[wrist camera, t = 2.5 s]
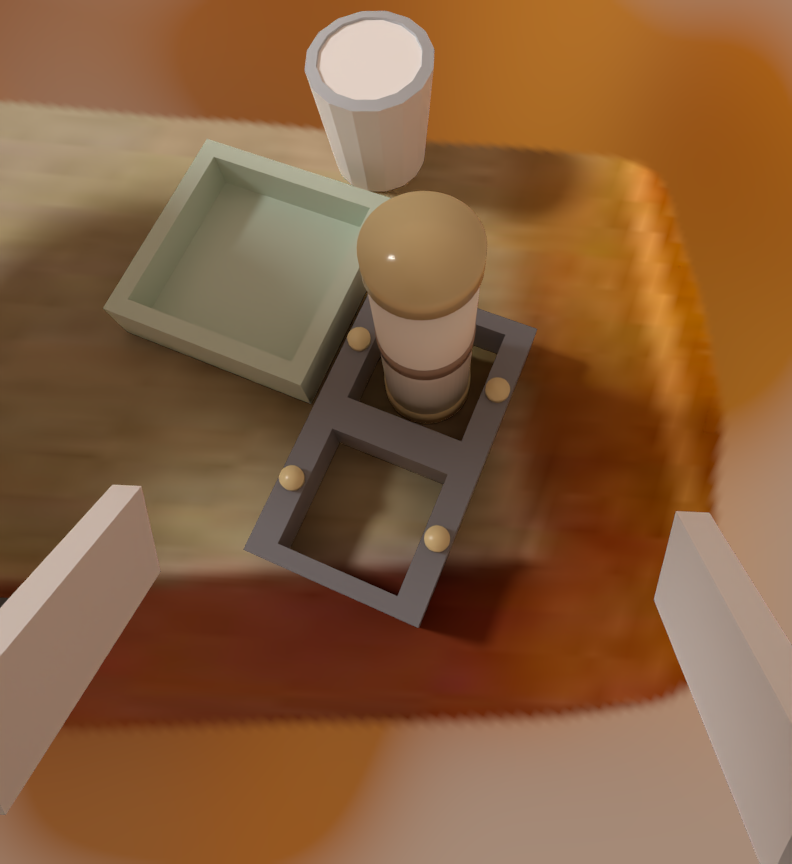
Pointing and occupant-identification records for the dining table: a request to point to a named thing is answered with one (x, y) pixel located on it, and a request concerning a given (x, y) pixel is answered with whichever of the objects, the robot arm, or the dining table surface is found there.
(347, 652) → the dining table surface
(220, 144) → the parts tray
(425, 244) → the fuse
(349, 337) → the block
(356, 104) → the white cylinder
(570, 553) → the dining table surface
